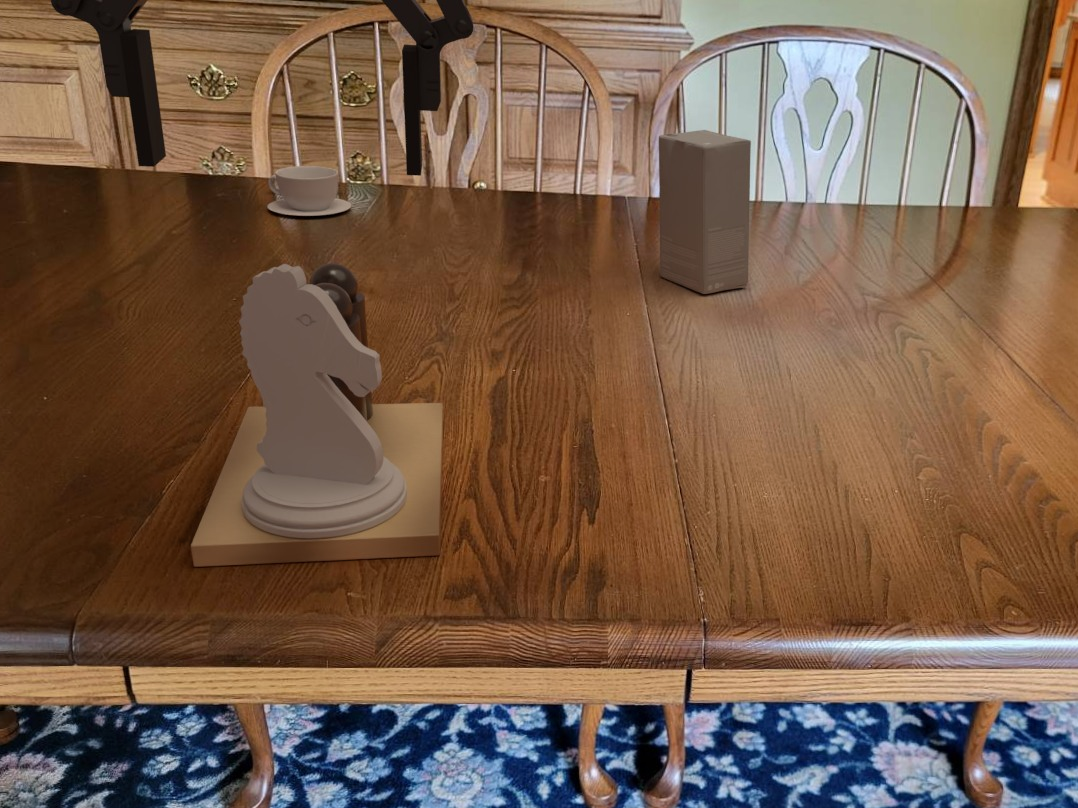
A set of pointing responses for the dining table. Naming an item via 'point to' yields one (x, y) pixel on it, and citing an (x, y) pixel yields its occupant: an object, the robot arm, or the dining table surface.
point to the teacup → (306, 191)
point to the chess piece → (312, 415)
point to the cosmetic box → (704, 210)
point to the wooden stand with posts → (405, 443)
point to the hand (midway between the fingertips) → (286, 166)
